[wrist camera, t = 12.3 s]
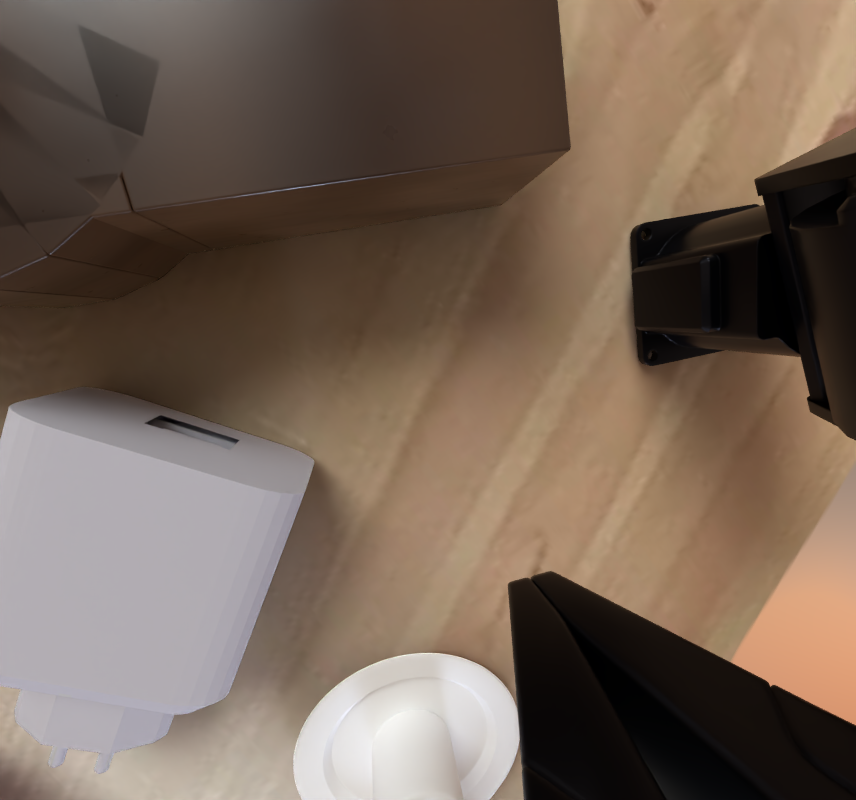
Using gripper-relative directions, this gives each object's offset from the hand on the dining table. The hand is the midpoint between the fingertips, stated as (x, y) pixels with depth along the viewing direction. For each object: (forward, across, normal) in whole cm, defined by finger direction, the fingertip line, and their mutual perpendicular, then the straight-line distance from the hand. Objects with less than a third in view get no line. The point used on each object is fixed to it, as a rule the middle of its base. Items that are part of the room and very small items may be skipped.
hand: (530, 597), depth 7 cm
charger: (+12, +13, +4) cm, 18 cm away
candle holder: (+12, +4, +17) cm, 21 cm away
